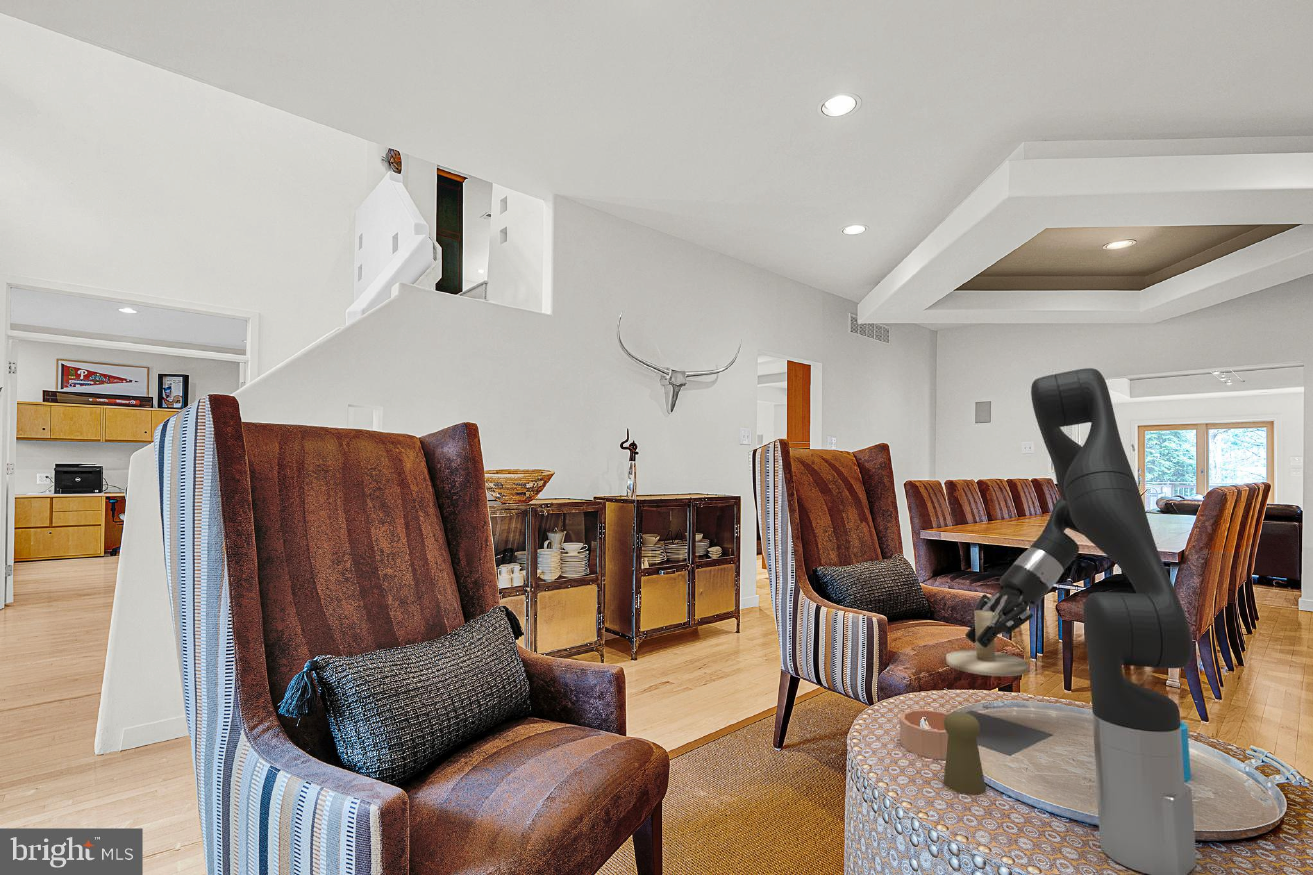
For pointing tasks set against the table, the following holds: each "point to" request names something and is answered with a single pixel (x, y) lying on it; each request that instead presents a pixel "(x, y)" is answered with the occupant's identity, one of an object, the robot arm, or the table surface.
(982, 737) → the mat
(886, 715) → the table surface
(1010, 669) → the lid
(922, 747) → the bowl
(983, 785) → the olive pawn
